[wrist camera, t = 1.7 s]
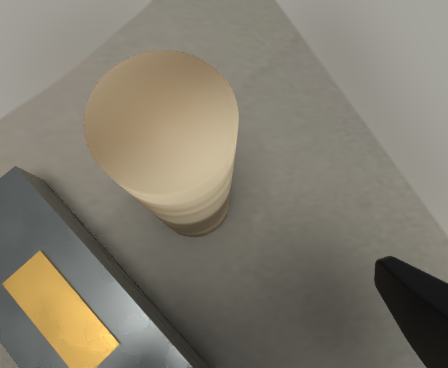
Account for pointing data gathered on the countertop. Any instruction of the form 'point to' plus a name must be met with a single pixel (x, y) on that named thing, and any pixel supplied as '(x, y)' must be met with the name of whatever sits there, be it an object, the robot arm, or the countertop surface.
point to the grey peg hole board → (72, 292)
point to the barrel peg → (167, 136)
